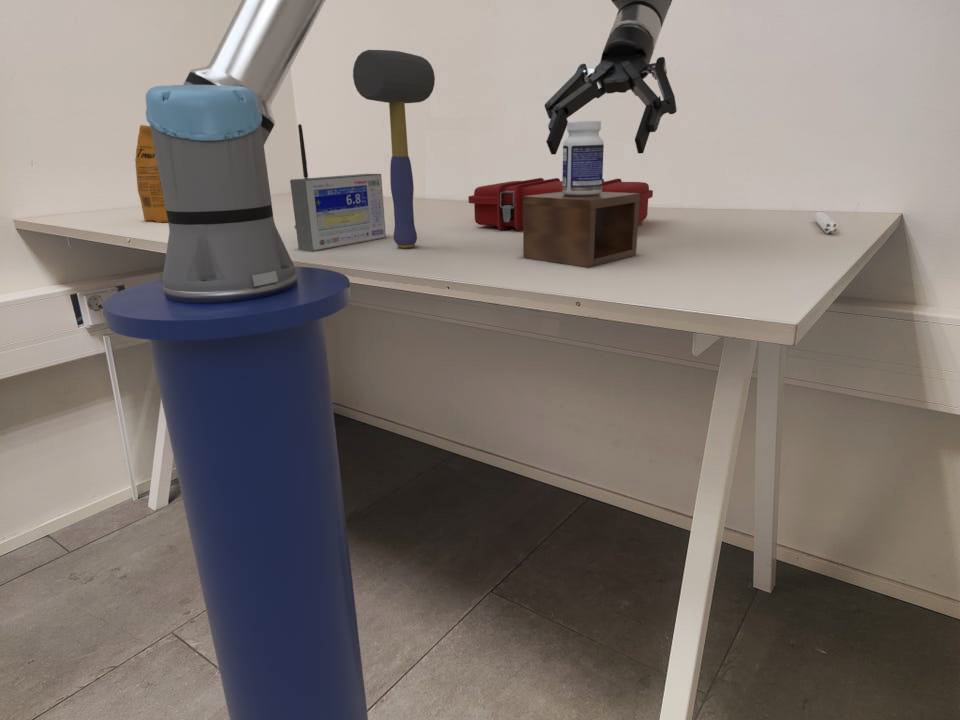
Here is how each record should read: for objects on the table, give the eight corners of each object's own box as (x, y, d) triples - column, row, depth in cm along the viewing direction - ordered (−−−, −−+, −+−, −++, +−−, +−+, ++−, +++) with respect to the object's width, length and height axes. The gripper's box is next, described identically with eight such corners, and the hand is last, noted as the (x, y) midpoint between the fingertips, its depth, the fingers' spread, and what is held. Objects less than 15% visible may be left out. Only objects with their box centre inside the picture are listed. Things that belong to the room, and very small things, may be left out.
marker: (837, 236, 105) (840, 222, 104) (824, 235, 106) (826, 221, 105) (825, 222, 121) (827, 210, 120) (813, 222, 122) (815, 210, 121)
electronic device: (313, 251, 103) (298, 123, 96) (288, 248, 107) (272, 124, 100) (388, 237, 116) (379, 123, 109) (363, 234, 120) (353, 124, 113)
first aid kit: (465, 229, 124) (463, 184, 121) (513, 216, 143) (513, 177, 140) (622, 237, 109) (625, 187, 107) (653, 221, 129) (656, 178, 126)
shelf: (523, 257, 93) (523, 196, 90) (572, 247, 101) (573, 190, 98) (588, 267, 85) (591, 200, 82) (636, 255, 93) (640, 193, 90)
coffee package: (172, 216, 159) (155, 125, 152) (205, 218, 153) (189, 123, 146) (136, 221, 151) (117, 124, 143) (170, 223, 145) (151, 123, 138)
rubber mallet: (397, 255, 98) (383, 43, 88) (363, 251, 102) (346, 49, 92) (446, 243, 107) (437, 52, 97) (413, 240, 111) (401, 56, 101)
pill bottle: (609, 193, 90) (613, 120, 87) (586, 197, 86) (588, 120, 83) (577, 192, 94) (579, 122, 90) (553, 195, 90) (555, 122, 87)
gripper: (714, 58, 95) (682, 165, 88) (564, 70, 107) (525, 165, 100) (710, 14, 89) (676, 125, 82) (551, 32, 101) (509, 130, 94)
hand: (593, 147), depth 91 cm, fingers open, 13 cm apart
